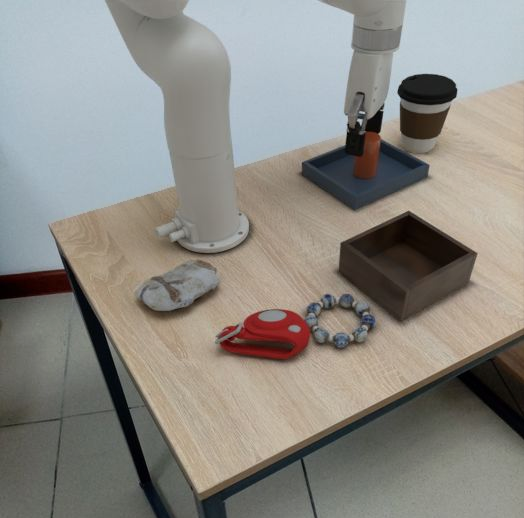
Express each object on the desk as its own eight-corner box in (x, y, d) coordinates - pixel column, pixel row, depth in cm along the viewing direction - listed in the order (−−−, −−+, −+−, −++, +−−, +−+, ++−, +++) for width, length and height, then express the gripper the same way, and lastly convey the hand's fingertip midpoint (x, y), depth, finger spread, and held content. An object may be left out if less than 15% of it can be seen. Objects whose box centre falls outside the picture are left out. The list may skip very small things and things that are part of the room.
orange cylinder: (363, 181, 98) (367, 145, 93) (348, 172, 100) (350, 136, 95) (381, 174, 99) (386, 137, 94) (365, 164, 102) (369, 129, 97)
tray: (354, 209, 93) (355, 197, 91) (301, 174, 102) (301, 161, 100) (427, 177, 99) (429, 164, 97) (371, 146, 108) (372, 134, 106)
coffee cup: (378, 146, 108) (386, 84, 99) (413, 128, 112) (423, 67, 103) (421, 165, 102) (433, 101, 93) (457, 145, 106) (471, 83, 97)
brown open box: (400, 321, 74) (406, 291, 70) (338, 271, 82) (340, 242, 78) (468, 283, 78) (477, 253, 74) (403, 239, 86) (408, 210, 82)
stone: (166, 329, 75) (161, 312, 73) (130, 299, 80) (124, 282, 77) (229, 288, 80) (227, 271, 78) (192, 262, 85) (189, 245, 82)
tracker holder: (270, 296, 77) (324, 314, 70) (272, 324, 79) (324, 344, 72) (205, 325, 69) (259, 348, 63) (209, 355, 72) (261, 379, 65)
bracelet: (317, 357, 70) (318, 346, 69) (293, 309, 76) (293, 299, 75) (385, 339, 72) (387, 328, 70) (356, 293, 78) (357, 283, 76)
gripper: (370, 18, 89) (359, 120, 102) (333, 50, 79) (325, 159, 91) (414, 23, 87) (397, 127, 99) (382, 57, 76) (367, 168, 89)
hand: (363, 143), depth 95 cm, fingers open, 9 cm apart
